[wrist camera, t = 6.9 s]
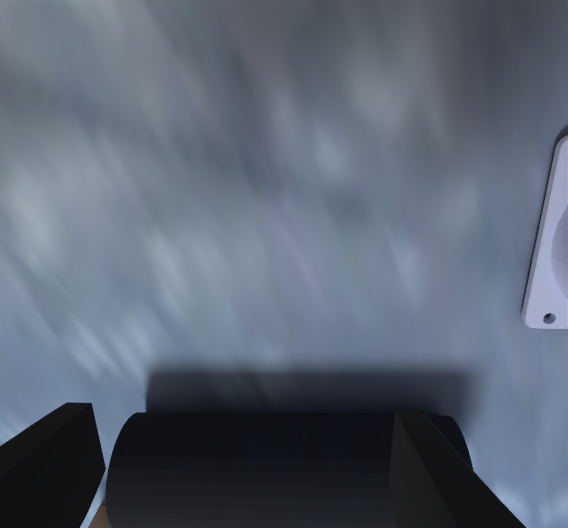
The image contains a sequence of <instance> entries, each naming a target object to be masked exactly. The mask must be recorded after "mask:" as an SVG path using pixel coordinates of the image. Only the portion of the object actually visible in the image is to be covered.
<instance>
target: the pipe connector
mask: <svg viewBox="0 0 568 528" xmlns="http://www.w3.org/2000/svg"><path fill="white" fill-rule="evenodd" d="M427 416H428V418H429V419H430V420H431V421H432V422H433V424H434V425H435V426H436V427H437V429H438V430H439V431H440V432H441V433H442V435H443V436H444V437H445V438H446V439H447V441H448V442H449V443H450V444H451V445H452V447H453V448H454V449H455V450H456V451H457V453H458V454H459V455H460V456H461V457H462V458H463V460H464V461H465V462H466V463H467V464H468V465H469V467H470V468H471V469H472V470H473V467H472V462H471V458H470V455H469V451H468V448H467V445H466V442H465V439H464V437H463V435H462V432H461V430H460V428H459V427H458V425H457V423H456V422H455V421H454V420H453V418H451V417H450V416H432V415H427ZM394 419H395V415H335V414H237V413H139V412H137V413H135V414H133V415H132V416H131V417H130V418H129V419H128V420H127V421H126V423H125V424H124V426H123V428H122V429H121V431H120V433H119V435H118V438H117V440H116V443H115V446H114V449H113V452H112V455H111V460H110V464H109V468H108V475H107V482H106V511H107V517H108V520H109V523H110V525H111V526H112V528H397V525H396V519H395V513H394V507H393V501H392V495H391V488H390V482H389V472H390V461H391V451H392V440H393V430H394Z"/></svg>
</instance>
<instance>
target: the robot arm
mask: <svg viewBox="0 0 568 528" xmlns="http://www.w3.org/2000/svg"><path fill="white" fill-rule="evenodd" d="M549 313H551V315H550V317H549V318H547V319H545V320H543V318H544V316H545V315H546V314H549ZM521 319H522V321H523V322H524V323H525V324H526V325H527V326H529V327H530V328H548V329H568V135H567V136H565V137H563V138H562V139H561V140H560V141H559V142H558V143H557V146H556V148H555V153H554V158H553V163H552V168H551V172H550V177H549V182H548V187H547V192H546V197H545V202H544V207H543V211H542V216H541V221H540V226H539V231H538V236H537V241H536V246H535V251H534V255H533V260H532V265H531V270H530V275H529V280H528V285H527V290H526V295H525V299H524V304H523V309H522V314H521ZM105 470H106V467H105V463H104V458H103V453H102V449H101V444H100V440H99V435H98V430H97V426H96V421H95V417H94V412H93V407H92V403H66V404H64V405H62V406H61V407H59V408H57V409H56V410H54V411H52V412H51V413H49V414H48V415H46V416H45V417H43V418H42V419H40V420H39V421H37V422H36V423H34V424H33V425H31V426H30V427H28V428H27V429H25V430H24V431H22V432H21V433H19V434H18V435H16V436H15V437H13V438H12V439H10V440H9V441H7V442H6V443H4V444H3V445H1V446H0V528H80V526H81V524H82V522H83V520H84V519H85V517H86V515H87V513H88V511H89V508H90V506H91V504H92V501H93V499H94V497H95V495H96V492H97V490H98V487H99V485H100V482H101V480H102V477H103V475H104V472H105ZM389 482H390V488H391V495H392V501H393V507H394V513H395V519H396V525H397V528H526V527H525V526H524V525H523V524H522V523H521V522H520V521H519V520H518V519H517V518H516V517H515V516H514V515H513V514H512V512H511V511H510V510H509V509H508V508H507V507H506V506H505V505H504V504H503V503H502V502H501V501H500V500H499V499H498V498H497V497H496V495H495V494H494V493H493V492H492V491H491V490H490V489H489V488H488V487H487V485H486V484H485V483H484V482H483V481H482V480H481V479H480V478H479V477H478V476H477V474H476V473H475V472H474V471H473V470H472V469H471V468H470V467H469V465H468V464H467V463H466V462H465V461H464V460H463V458H462V457H461V456H460V455H459V454H458V453H457V451H456V450H455V449H454V448H453V447H452V445H451V444H450V443H449V442H448V441H447V439H446V438H445V437H444V436H443V435H442V433H441V432H440V431H439V430H438V429H437V427H436V426H435V425H434V424H433V422H432V421H431V420H430V419H429V418H428V416H427V415H426V414H425V413H424V412H423V411H406V410H395V419H394V430H393V440H392V451H391V461H390V472H389Z"/></svg>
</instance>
